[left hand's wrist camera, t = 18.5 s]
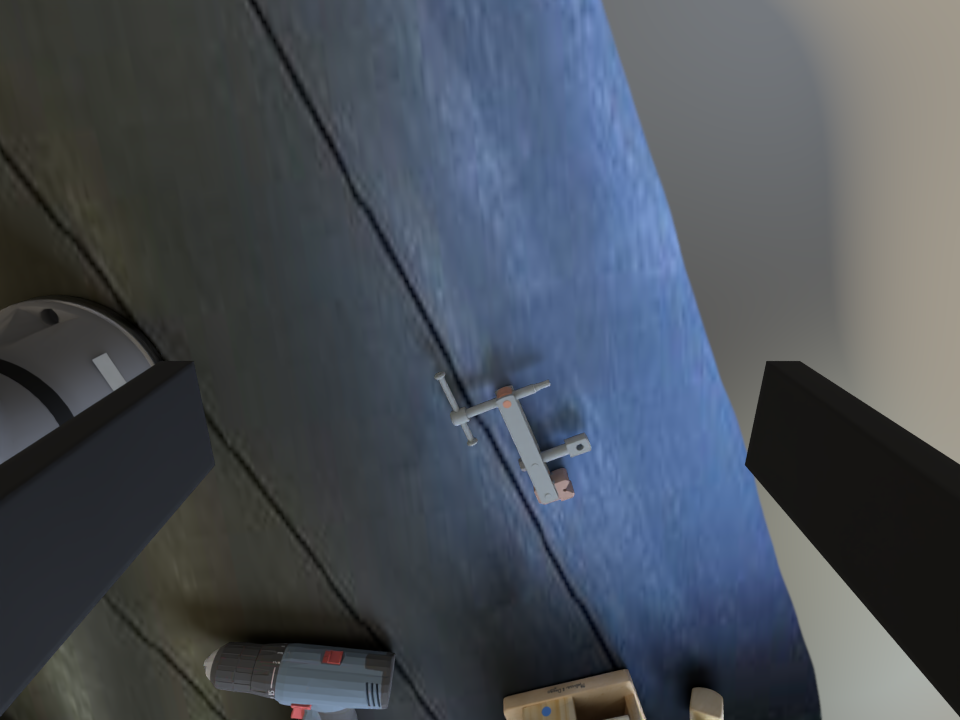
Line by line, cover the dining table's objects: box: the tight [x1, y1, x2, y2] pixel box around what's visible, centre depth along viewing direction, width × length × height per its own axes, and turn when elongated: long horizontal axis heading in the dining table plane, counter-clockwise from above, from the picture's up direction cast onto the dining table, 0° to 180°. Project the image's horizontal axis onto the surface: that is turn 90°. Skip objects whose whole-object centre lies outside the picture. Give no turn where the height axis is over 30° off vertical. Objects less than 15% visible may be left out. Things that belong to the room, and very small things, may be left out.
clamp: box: [434, 371, 591, 505], centre depth 46 cm, size 15×2×10 cm
